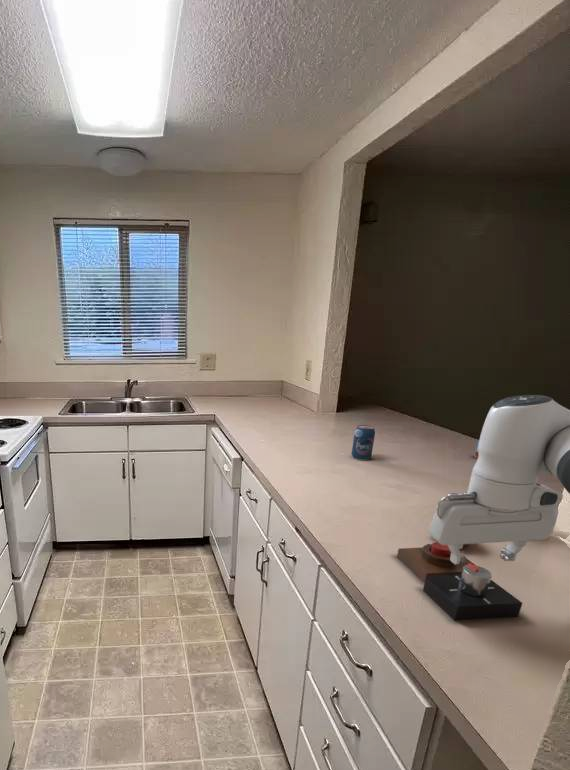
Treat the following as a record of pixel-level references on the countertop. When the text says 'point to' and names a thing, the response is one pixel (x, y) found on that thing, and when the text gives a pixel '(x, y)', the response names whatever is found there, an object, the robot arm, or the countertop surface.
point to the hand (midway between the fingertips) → (481, 561)
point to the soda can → (363, 442)
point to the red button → (440, 549)
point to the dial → (474, 580)
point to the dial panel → (471, 600)
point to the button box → (429, 563)
